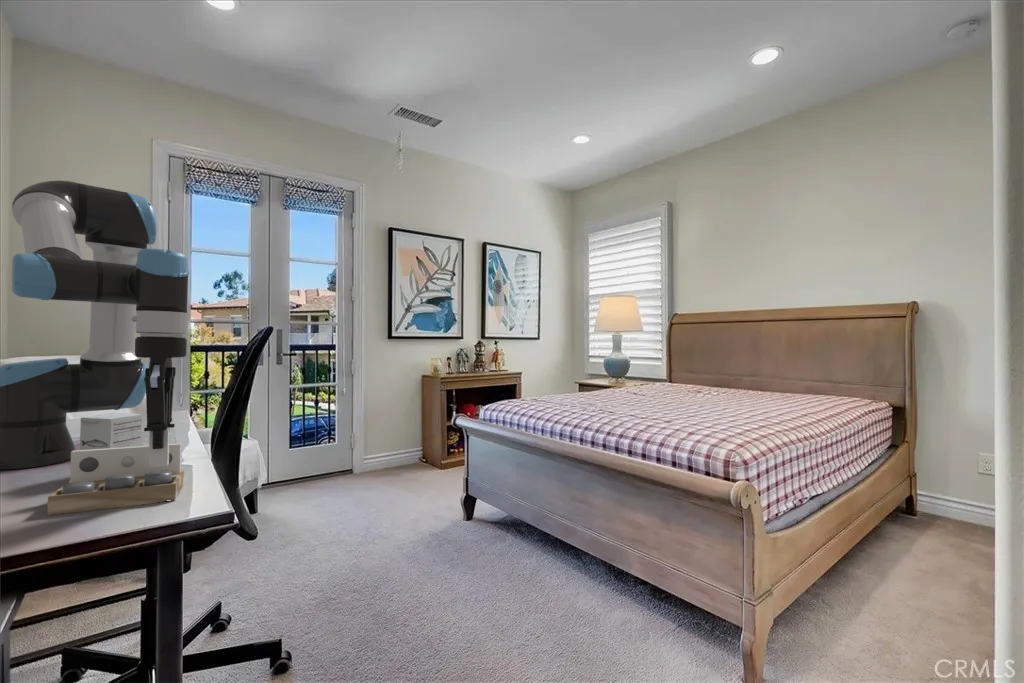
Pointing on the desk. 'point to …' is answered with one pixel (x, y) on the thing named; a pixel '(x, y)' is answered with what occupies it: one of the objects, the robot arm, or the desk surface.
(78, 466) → the card
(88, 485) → the button
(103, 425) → the supplement box
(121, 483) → the button
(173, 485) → the button board
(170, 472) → the button
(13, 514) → the desk surface
